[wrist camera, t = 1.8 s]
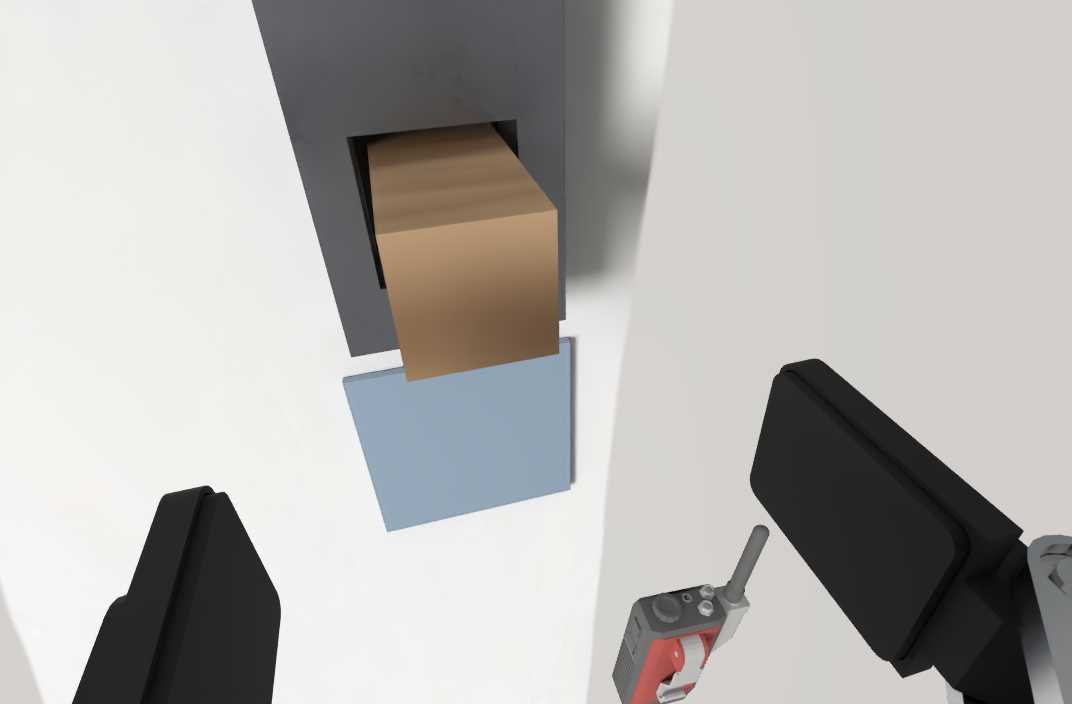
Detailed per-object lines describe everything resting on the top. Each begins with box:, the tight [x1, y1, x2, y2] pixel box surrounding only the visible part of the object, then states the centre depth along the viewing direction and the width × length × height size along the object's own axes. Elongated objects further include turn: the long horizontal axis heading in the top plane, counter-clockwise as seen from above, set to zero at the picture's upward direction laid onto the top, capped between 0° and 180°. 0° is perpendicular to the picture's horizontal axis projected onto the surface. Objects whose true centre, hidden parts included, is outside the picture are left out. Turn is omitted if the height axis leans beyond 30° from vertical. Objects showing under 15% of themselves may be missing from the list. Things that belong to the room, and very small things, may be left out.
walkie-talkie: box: [612, 525, 769, 704], centre depth 43 cm, size 9×4×20 cm
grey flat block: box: [252, 0, 566, 357], centre depth 17 cm, size 18×8×3 cm, turn 2°
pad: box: [343, 337, 570, 532], centre depth 28 cm, size 10×10×1 cm
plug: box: [366, 122, 559, 382], centre depth 17 cm, size 4×4×9 cm
